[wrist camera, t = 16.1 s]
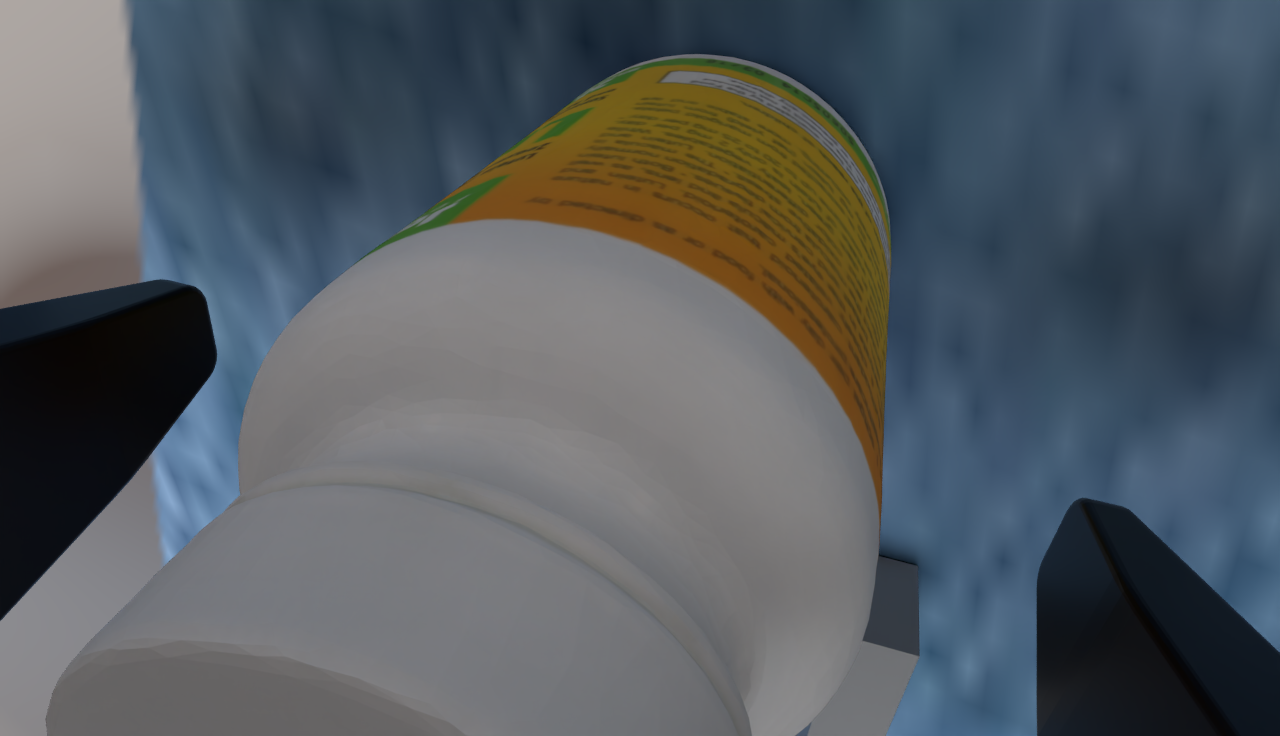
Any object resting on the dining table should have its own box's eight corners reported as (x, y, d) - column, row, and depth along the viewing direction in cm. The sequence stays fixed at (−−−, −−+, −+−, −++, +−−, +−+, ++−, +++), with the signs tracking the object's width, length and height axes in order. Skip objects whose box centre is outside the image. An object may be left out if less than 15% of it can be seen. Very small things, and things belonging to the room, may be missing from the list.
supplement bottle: (626, -34, 11) (-131, 268, 3) (976, 180, 11) (1154, 1001, 3) (488, 280, 14) (-70, 849, 6) (764, 443, 14) (582, 1204, 6)
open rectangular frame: (918, 565, 15) (919, 655, 13) (807, 849, 20) (798, 940, 18) (422, 438, 16) (368, 504, 15) (438, 731, 21) (399, 805, 20)
